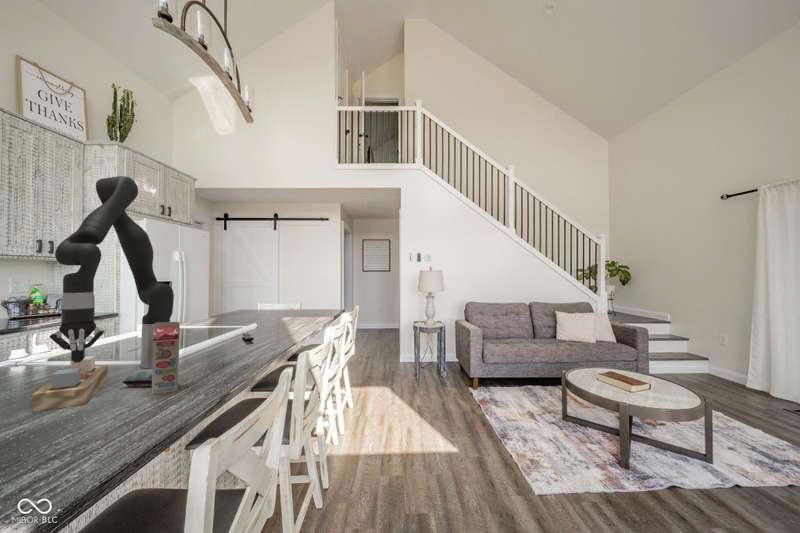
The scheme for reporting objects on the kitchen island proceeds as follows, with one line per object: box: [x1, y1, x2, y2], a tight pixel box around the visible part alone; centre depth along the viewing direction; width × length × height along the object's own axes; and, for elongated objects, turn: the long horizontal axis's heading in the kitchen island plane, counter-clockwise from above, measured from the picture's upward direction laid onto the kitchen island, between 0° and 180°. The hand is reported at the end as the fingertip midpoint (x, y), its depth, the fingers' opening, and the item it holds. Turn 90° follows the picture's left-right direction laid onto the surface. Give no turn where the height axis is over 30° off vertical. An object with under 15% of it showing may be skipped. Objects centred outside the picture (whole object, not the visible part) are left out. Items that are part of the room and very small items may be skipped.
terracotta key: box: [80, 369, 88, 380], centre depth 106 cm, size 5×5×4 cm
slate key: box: [51, 368, 81, 389], centre depth 99 cm, size 5×5×4 cm
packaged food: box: [121, 368, 152, 387], centre depth 116 cm, size 9×12×5 cm
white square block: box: [69, 355, 96, 372], centre depth 113 cm, size 5×5×4 cm
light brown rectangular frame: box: [31, 365, 109, 413], centre depth 106 cm, size 11×26×5 cm, turn 30°
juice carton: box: [151, 321, 181, 395], centre depth 111 cm, size 7×7×22 cm
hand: (77, 361), depth 107 cm, fingers closed
